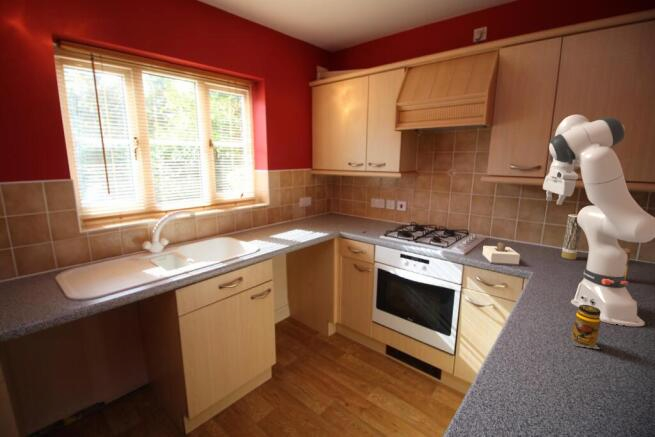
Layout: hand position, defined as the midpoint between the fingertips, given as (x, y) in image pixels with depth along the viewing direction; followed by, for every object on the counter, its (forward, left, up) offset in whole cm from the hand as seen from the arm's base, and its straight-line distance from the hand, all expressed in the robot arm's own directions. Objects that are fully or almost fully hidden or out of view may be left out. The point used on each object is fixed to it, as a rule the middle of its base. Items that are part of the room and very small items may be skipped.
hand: (553, 202), depth 151 cm
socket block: (+17, +14, -36) cm, 42 cm away
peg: (+17, +14, -35) cm, 41 cm away
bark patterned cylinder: (+29, -27, -36) cm, 53 cm away
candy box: (-1, -30, -36) cm, 47 cm away
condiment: (-61, +16, -36) cm, 73 cm away
